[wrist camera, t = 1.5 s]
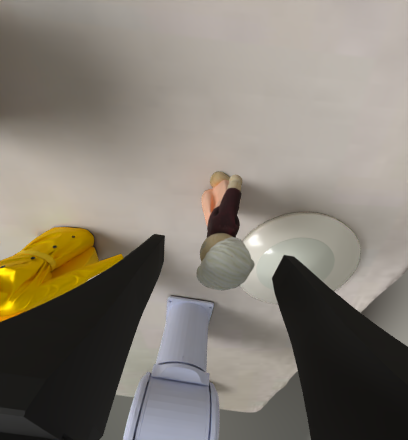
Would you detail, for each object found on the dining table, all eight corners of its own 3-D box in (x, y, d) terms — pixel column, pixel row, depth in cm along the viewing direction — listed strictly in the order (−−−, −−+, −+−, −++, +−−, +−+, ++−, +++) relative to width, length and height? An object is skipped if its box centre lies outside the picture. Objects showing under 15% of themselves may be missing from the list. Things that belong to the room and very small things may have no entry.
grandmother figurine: (202, 161, 18) (180, 215, 6) (239, 162, 17) (280, 220, 6) (201, 223, 21) (186, 326, 10) (231, 225, 21) (249, 331, 10)
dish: (318, 305, 27) (322, 312, 26) (223, 290, 27) (223, 296, 26) (383, 223, 20) (391, 228, 19) (252, 201, 19) (253, 205, 18)
